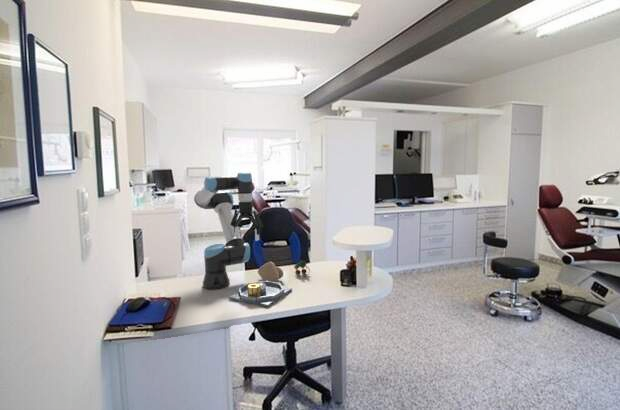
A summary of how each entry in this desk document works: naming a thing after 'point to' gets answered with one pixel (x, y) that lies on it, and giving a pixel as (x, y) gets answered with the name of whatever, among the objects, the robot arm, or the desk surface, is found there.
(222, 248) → the robot arm
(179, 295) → the desk surface
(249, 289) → the planet gear
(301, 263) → the binoculars
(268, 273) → the brown rounded piece
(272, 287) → the tray
